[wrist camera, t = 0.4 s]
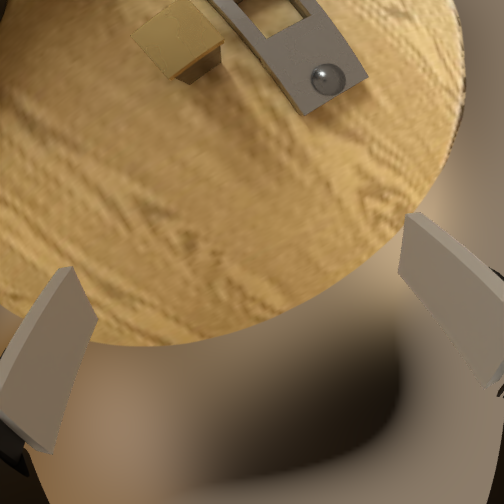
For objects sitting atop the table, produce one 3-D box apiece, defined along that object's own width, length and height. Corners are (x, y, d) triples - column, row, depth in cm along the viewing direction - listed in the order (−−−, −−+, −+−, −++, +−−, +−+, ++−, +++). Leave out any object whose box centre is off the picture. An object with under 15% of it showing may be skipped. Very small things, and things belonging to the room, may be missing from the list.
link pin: (164, 58, 26) (129, 35, 15) (198, 33, 25) (184, -5, 14) (189, 87, 28) (168, 79, 17) (223, 62, 27) (224, 38, 16)
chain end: (208, 1, 23) (207, -7, 21) (275, -33, 21) (280, -43, 19) (299, 114, 31) (306, 116, 28) (359, 77, 29) (371, 76, 26)
